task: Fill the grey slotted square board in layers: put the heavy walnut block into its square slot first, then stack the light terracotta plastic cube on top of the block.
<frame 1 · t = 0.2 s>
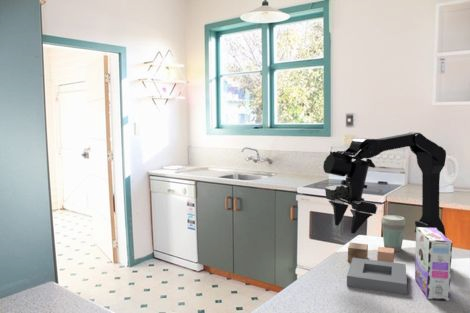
hand: (344, 229, 118), 15 cm above the countertop, tool pointing down, fingers open, 9 cm apart
candy box: (430, 290, 110), on the countertop
coffee cup: (392, 249, 144), on the countertop
terracotta cube: (385, 264, 130), on the countertop
grey slotted square board: (377, 279, 117), on the countertop
walnut block: (357, 260, 134), on the countertop
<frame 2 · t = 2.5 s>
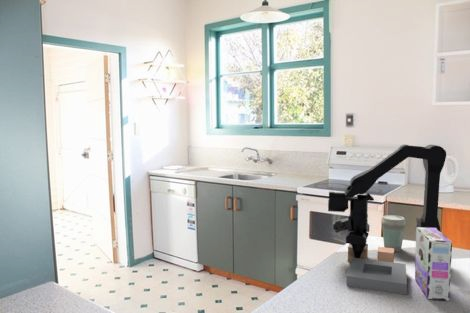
hand: (357, 256, 134), 1 cm above the countertop, tool pointing down, fingers closed on walnut block, 6 cm apart
walnut block: (357, 259, 134), on the countertop, touching gripper
everything else where it was.
when the fingers open (4 cm above the countertop, at t = 7.8 s): walnut block stays where it is, resting on grey slotted square board.
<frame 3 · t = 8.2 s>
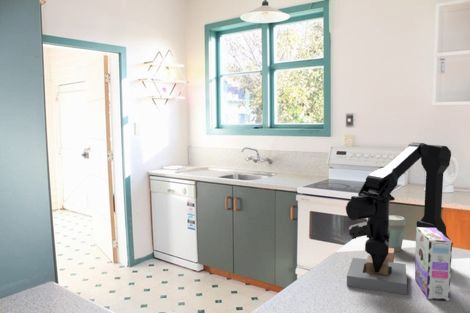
hand: (377, 266, 117), 4 cm above the countertop, tool pointing down, fingers open, 9 cm apart
walnut block: (377, 275, 117), point 1 cm above the countertop, touching grey slotted square board
everything else where it was.
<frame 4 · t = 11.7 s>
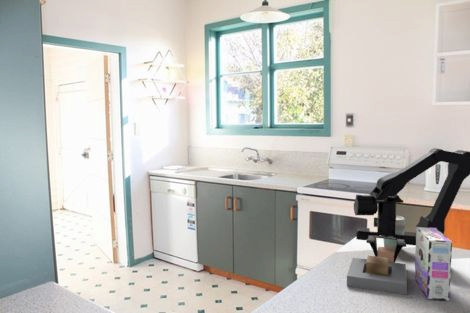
hand: (385, 261, 129), 1 cm above the countertop, tool pointing down, fingers closed on terracotta cube, 5 cm apart
terracotta cube: (385, 264, 130), on the countertop, touching gripper
everything else where it was.
when the fingers open (8 cm above the countertop, at t = 15.9 s): terracotta cube drops 1 cm, resting on walnut block.
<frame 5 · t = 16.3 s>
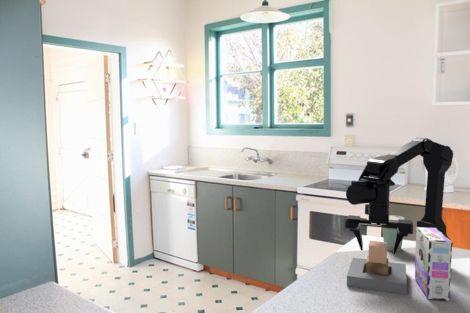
hand: (377, 252, 117), 8 cm above the countertop, tool pointing down, fingers open, 9 cm apart
terracotta cube: (377, 260, 117), point 6 cm above the countertop, touching walnut block
walnut block: (377, 275, 117), point 1 cm above the countertop, touching grey slotted square board, terracotta cube
everything else where it was.
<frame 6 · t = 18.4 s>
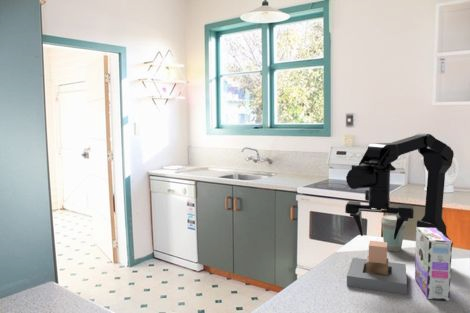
hand: (378, 237, 116), 13 cm above the countertop, tool pointing down, fingers open, 9 cm apart
nothing on the countertop moved.
at the end: walnut block 0.1 cm off-centre on the grey slotted square board, point 1.0 cm above the grey slotted square board's base; terracotta cube 0.0 cm off-centre on the walnut block, point 5.0 cm above the walnut block's base; terracotta cube tilted 0° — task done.
